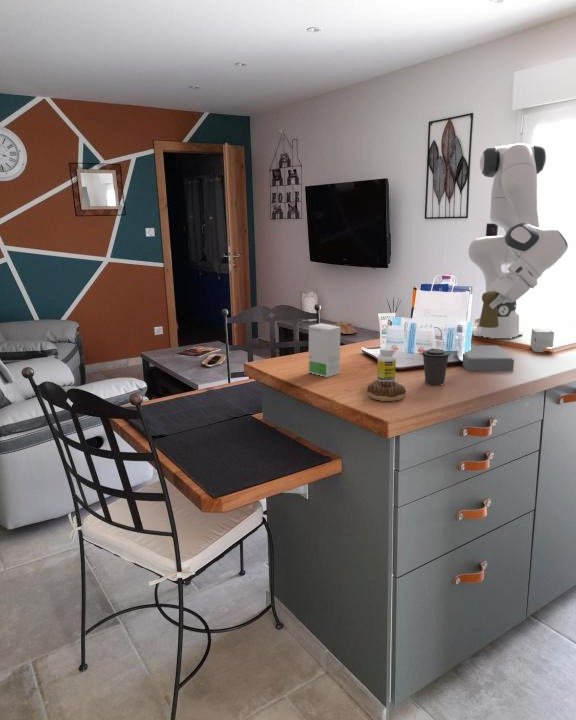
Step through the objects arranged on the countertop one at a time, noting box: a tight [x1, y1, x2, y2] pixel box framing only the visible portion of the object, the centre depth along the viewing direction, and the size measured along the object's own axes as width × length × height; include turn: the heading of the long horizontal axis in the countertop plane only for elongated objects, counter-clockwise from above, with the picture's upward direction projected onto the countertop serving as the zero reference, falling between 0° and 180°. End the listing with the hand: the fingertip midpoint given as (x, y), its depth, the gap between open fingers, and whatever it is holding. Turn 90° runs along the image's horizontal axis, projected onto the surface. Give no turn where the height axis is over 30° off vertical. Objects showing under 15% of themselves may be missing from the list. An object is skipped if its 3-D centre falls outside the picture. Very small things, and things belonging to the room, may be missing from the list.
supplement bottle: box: [376, 346, 397, 382], centre depth 169 cm, size 5×5×10 cm
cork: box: [478, 291, 499, 328], centre depth 180 cm, size 6×6×11 cm
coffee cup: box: [421, 348, 451, 386], centre depth 165 cm, size 8×8×10 cm
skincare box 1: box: [307, 323, 341, 378], centre depth 177 cm, size 8×7×16 cm
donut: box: [366, 380, 407, 402], centre depth 155 cm, size 11×11×4 cm
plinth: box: [462, 345, 515, 372], centre depth 185 cm, size 18×14×4 cm
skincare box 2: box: [530, 328, 555, 353], centre depth 199 cm, size 6×6×7 cm
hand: (487, 305), depth 180 cm, fingers closed on cork, 5 cm apart
